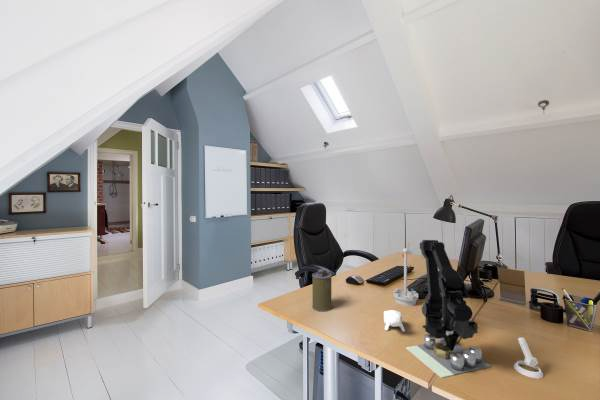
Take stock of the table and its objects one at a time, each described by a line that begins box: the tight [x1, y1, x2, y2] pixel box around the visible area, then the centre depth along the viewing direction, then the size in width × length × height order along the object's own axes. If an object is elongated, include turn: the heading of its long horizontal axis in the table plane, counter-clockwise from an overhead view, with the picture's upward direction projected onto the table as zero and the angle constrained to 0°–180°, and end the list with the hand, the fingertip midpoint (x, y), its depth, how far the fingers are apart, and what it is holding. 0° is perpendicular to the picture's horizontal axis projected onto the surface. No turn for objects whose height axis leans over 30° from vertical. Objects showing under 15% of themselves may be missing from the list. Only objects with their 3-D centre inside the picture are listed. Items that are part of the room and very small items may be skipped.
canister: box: [311, 268, 333, 312], centre depth 144 cm, size 11×10×20 cm
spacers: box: [423, 333, 483, 371], centre depth 101 cm, size 18×14×4 cm
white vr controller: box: [513, 336, 544, 379], centre depth 94 cm, size 8×12×7 cm
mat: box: [405, 340, 492, 379], centre depth 100 cm, size 18×21×1 cm
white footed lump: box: [383, 309, 406, 333], centre depth 121 cm, size 9×8×15 cm
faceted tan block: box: [433, 343, 451, 360], centre depth 101 cm, size 5×6×3 cm
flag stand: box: [392, 247, 419, 307], centre depth 151 cm, size 13×13×30 cm
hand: (451, 350), depth 102 cm, fingers closed
